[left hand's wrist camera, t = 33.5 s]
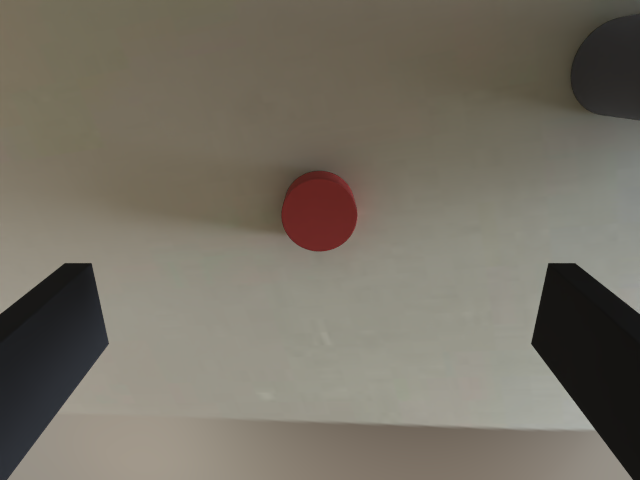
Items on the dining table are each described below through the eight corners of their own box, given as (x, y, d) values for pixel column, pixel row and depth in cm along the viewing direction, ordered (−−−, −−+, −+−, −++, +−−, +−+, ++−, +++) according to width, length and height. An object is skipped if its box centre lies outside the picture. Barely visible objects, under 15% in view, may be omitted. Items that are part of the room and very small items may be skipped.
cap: (367, 191, 25) (371, 201, 23) (332, 249, 26) (333, 263, 24) (305, 157, 24) (303, 165, 22) (272, 218, 25) (268, 230, 23)
